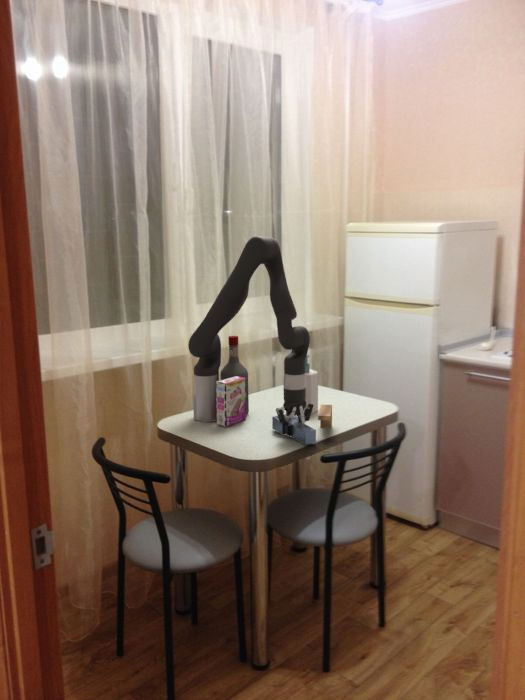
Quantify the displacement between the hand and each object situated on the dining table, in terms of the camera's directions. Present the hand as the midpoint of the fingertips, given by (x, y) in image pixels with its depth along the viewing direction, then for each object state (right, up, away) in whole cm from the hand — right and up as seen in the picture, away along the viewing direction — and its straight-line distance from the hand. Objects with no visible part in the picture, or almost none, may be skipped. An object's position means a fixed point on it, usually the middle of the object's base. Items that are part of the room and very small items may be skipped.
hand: (294, 434), depth 218 cm
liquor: (-22, +4, +27) cm, 35 cm away
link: (0, 0, 0) cm, 0 cm away
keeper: (+11, 0, +4) cm, 12 cm away
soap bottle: (+5, +5, +30) cm, 31 cm away
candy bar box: (-22, +2, +16) cm, 28 cm away
